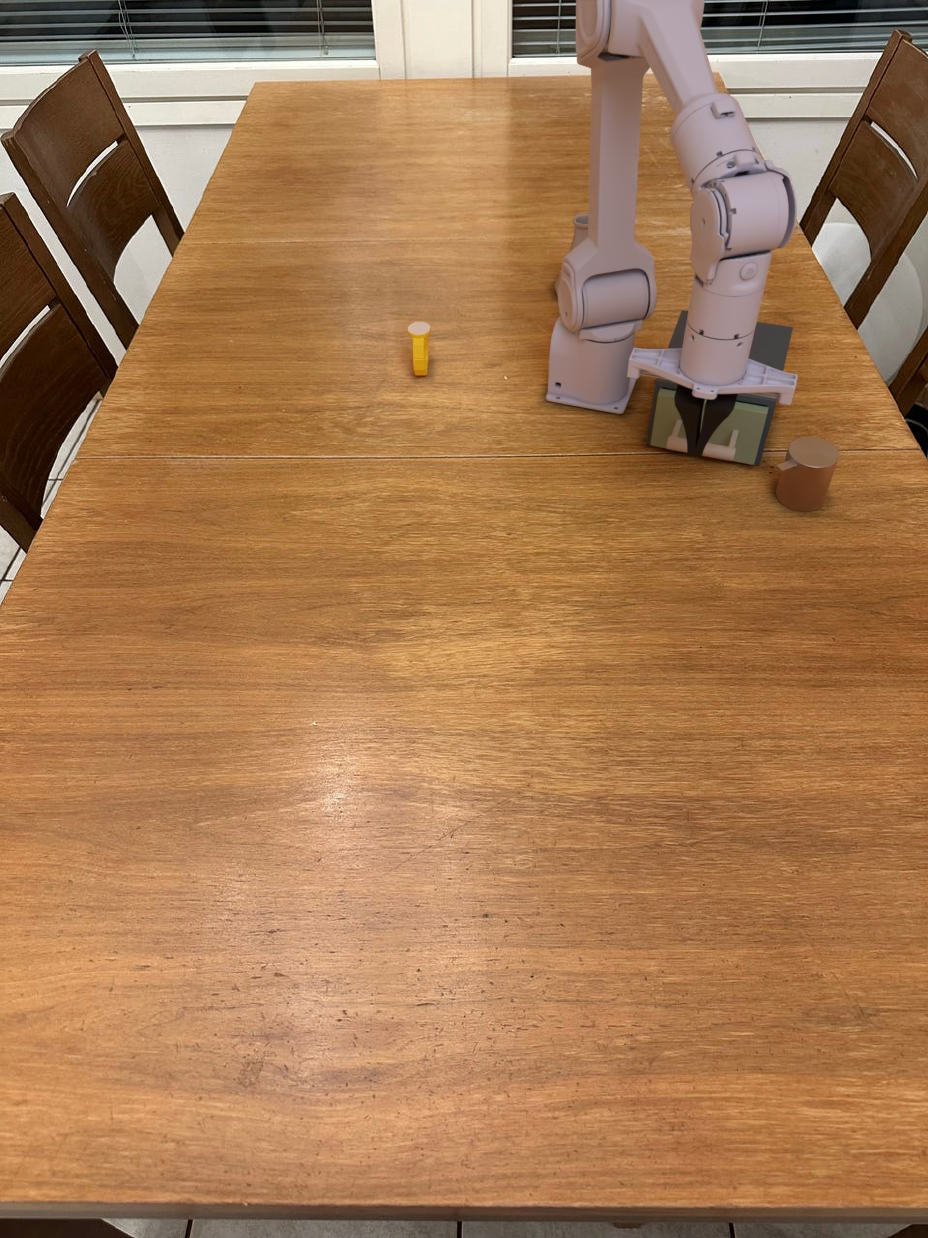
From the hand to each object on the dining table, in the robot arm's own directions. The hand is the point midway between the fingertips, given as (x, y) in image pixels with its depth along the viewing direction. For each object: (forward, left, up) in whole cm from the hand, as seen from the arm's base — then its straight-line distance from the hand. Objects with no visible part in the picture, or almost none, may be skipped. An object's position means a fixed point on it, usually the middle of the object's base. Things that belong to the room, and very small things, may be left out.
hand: (696, 449), depth 90 cm
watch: (-36, +19, -11) cm, 42 cm away
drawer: (0, +16, -9) cm, 19 cm away
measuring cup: (+11, +9, -10) cm, 18 cm away
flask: (-22, +43, -11) cm, 49 cm away
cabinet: (0, +20, -10) cm, 23 cm away
